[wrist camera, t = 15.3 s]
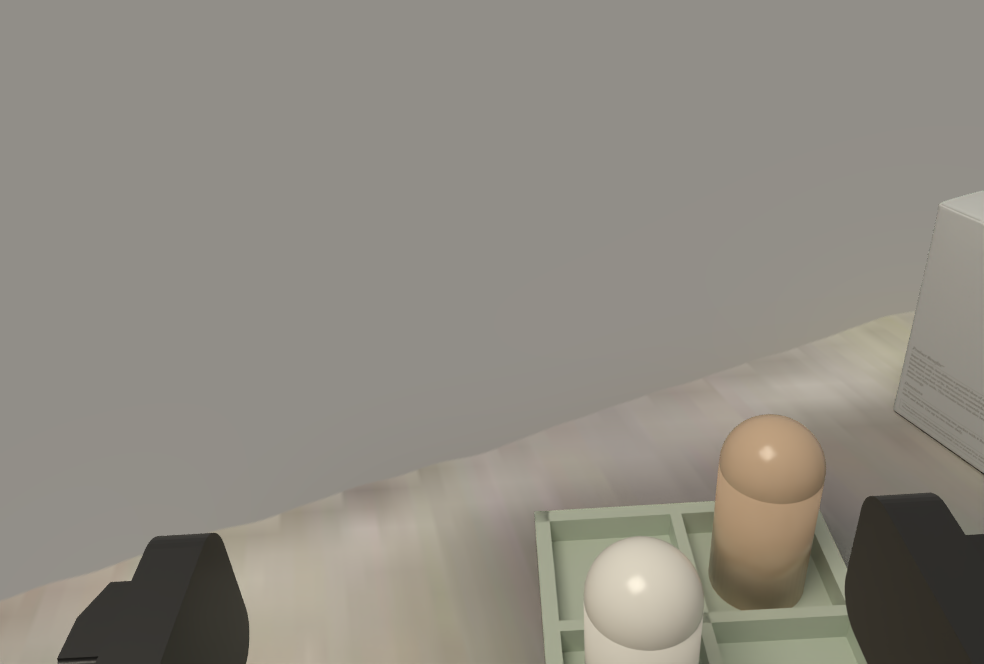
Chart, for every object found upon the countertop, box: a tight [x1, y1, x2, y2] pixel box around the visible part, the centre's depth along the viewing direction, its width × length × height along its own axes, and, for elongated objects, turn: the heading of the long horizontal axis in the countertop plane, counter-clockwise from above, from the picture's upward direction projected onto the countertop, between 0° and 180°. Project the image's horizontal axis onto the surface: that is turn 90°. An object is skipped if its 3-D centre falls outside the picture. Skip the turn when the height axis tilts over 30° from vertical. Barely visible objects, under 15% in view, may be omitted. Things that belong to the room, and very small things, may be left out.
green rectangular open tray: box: [534, 501, 867, 664], centre depth 41 cm, size 15×15×2 cm
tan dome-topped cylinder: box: [708, 414, 826, 611], centre depth 42 cm, size 5×5×10 cm
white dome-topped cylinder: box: [583, 536, 704, 664], centre depth 36 cm, size 5×5×10 cm
